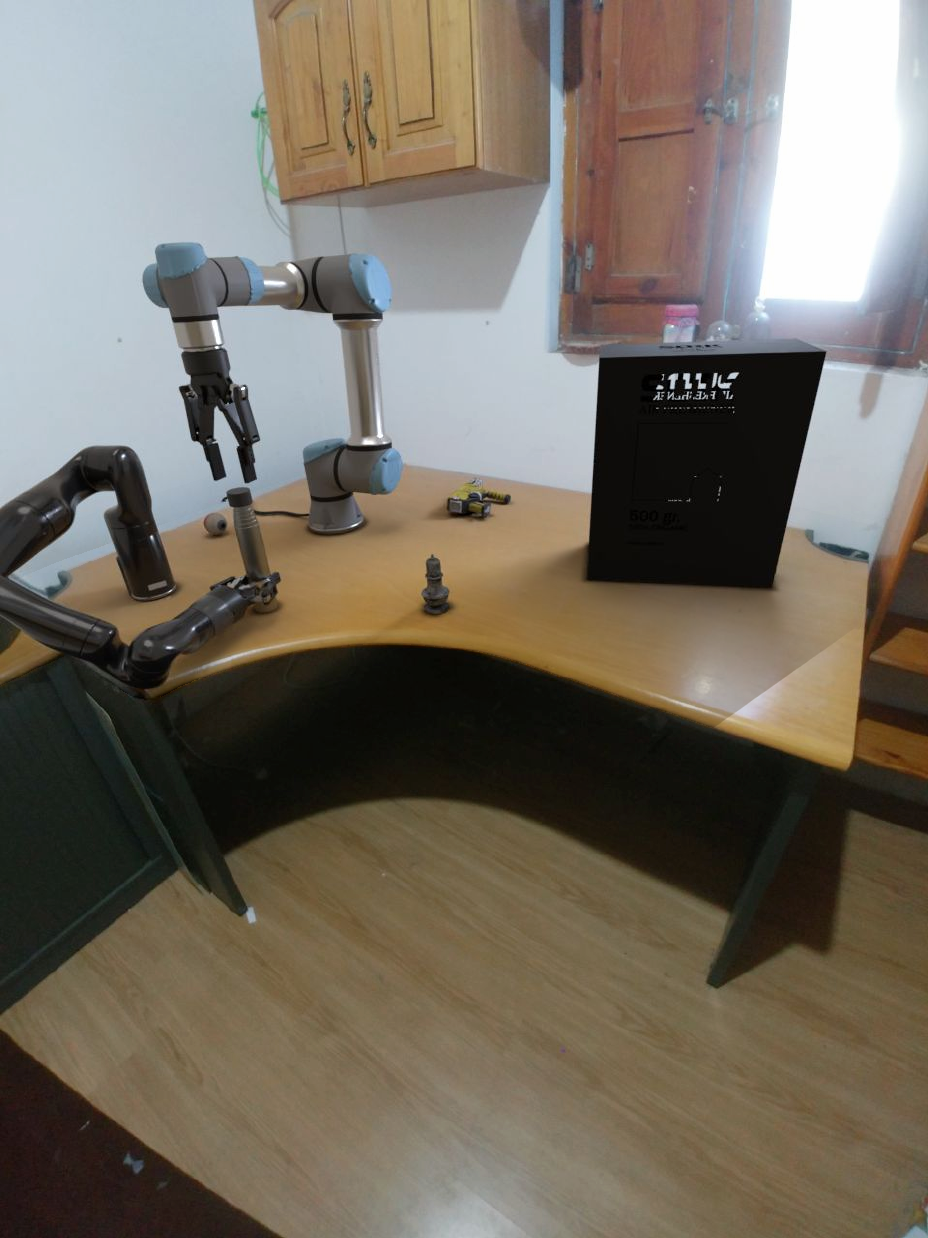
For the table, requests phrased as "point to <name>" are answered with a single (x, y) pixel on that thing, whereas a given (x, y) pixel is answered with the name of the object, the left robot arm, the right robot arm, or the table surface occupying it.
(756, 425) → the cardboard box
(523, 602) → the table surface
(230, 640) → the table surface
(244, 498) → the cap
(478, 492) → the toy gun
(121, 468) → the left robot arm
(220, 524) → the eyeball
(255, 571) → the bottle
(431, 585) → the grey metal turned piece
